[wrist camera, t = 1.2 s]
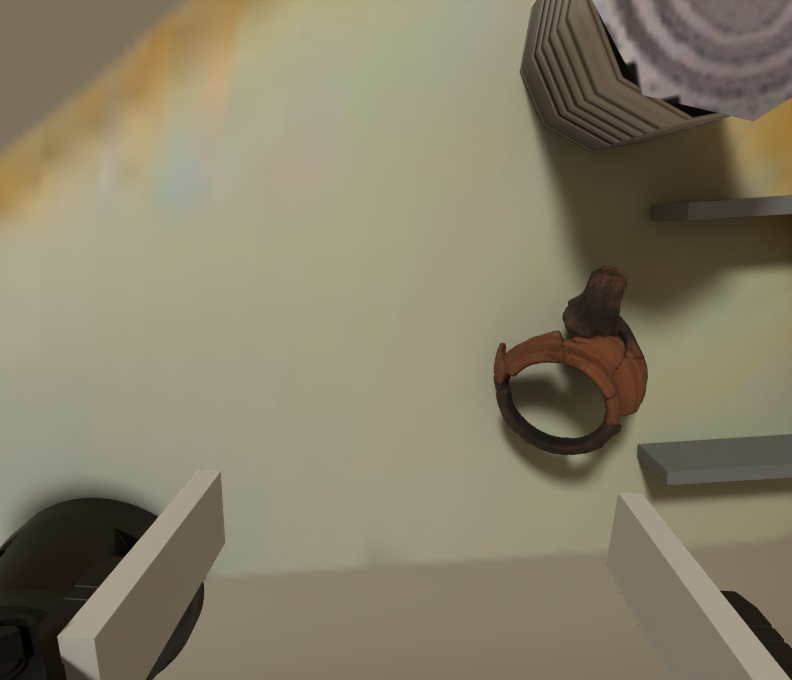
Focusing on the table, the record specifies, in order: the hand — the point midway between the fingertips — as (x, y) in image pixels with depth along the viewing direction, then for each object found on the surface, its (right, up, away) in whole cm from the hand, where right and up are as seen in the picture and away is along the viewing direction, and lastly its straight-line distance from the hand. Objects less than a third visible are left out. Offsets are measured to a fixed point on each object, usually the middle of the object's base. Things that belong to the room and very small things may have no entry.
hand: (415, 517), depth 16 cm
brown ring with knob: (+11, +5, +18) cm, 22 cm away
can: (+12, +23, +14) cm, 30 cm away
